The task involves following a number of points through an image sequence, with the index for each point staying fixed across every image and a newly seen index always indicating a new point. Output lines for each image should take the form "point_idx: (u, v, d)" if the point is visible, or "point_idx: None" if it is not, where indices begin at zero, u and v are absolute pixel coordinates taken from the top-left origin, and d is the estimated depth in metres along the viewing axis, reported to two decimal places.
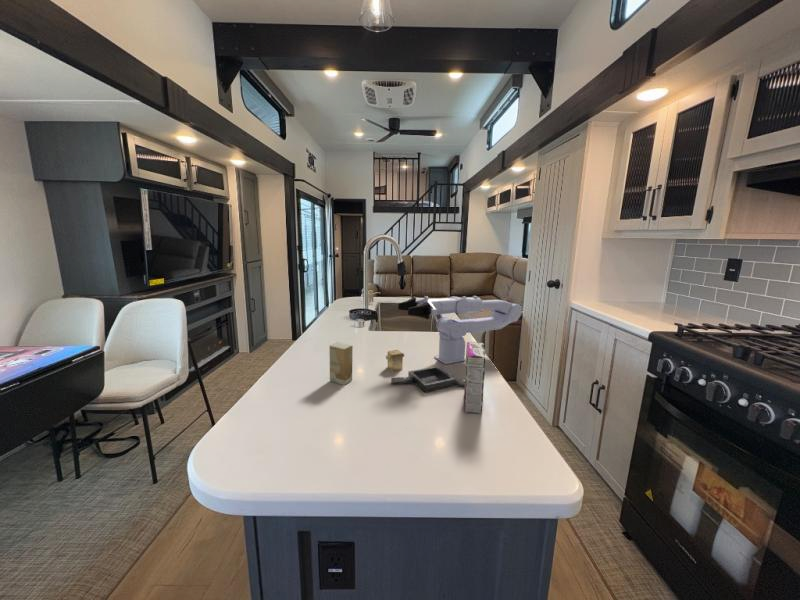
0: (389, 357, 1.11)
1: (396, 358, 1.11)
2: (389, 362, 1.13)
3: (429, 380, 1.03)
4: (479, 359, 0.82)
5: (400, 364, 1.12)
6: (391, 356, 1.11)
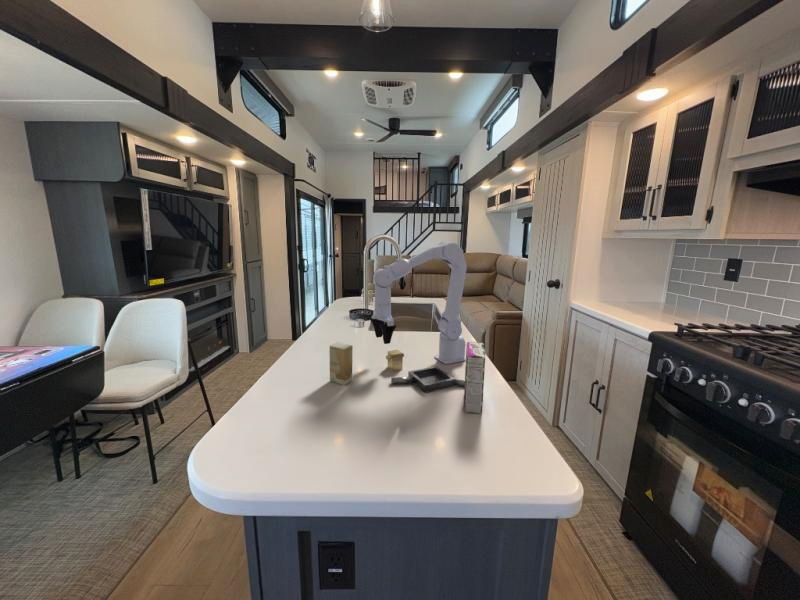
0: (389, 357, 1.11)
1: (396, 358, 1.11)
2: (389, 362, 1.13)
3: (429, 380, 1.03)
4: (479, 359, 0.82)
5: (400, 364, 1.12)
6: (391, 356, 1.11)
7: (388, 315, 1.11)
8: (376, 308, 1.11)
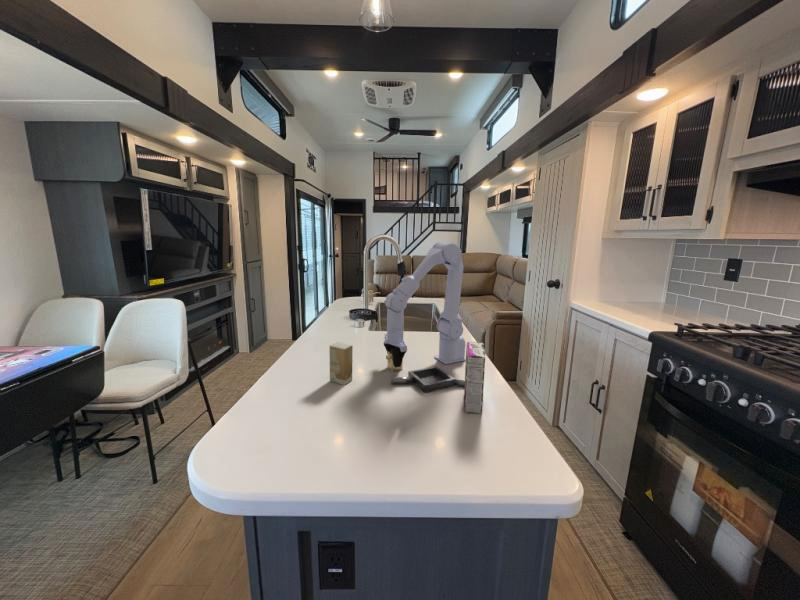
0: (389, 357, 1.11)
1: None
2: (389, 362, 1.13)
3: (429, 380, 1.03)
4: (478, 359, 0.82)
5: None
6: (391, 356, 1.11)
7: (401, 340, 1.10)
8: (389, 333, 1.09)
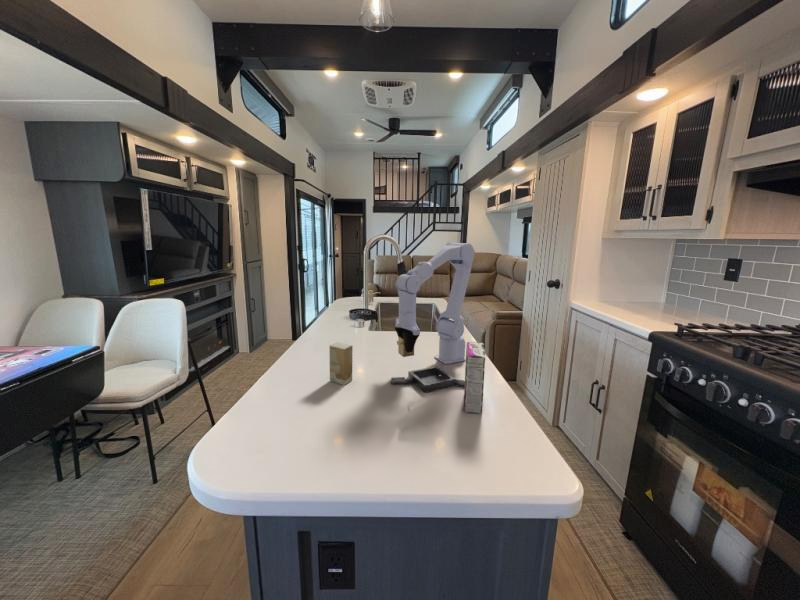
0: (400, 342, 1.06)
1: None
2: (400, 348, 1.08)
3: (429, 380, 1.03)
4: (478, 359, 0.82)
5: None
6: (402, 341, 1.06)
7: (413, 323, 1.05)
8: (400, 316, 1.04)
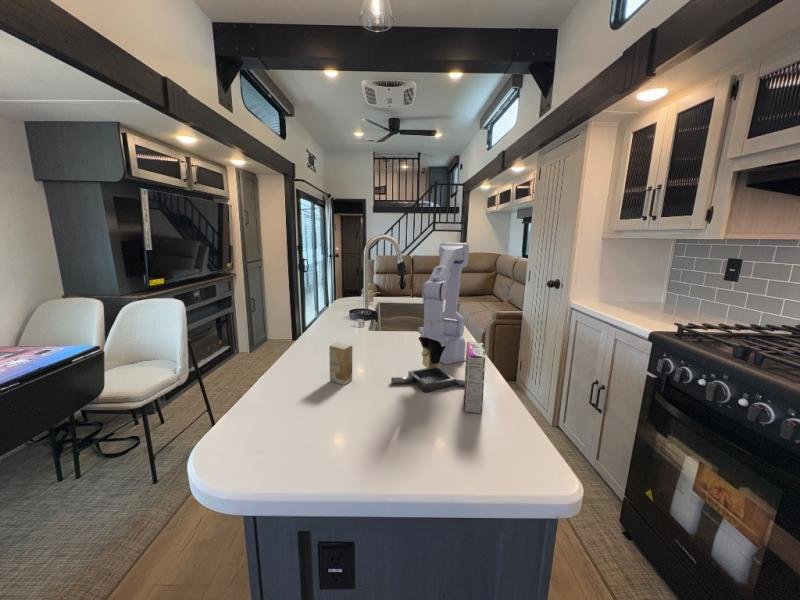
0: (426, 353, 0.99)
1: None
2: (425, 359, 1.01)
3: (429, 380, 1.03)
4: (479, 359, 0.82)
5: None
6: (428, 352, 0.99)
7: (440, 333, 0.98)
8: (426, 325, 0.97)
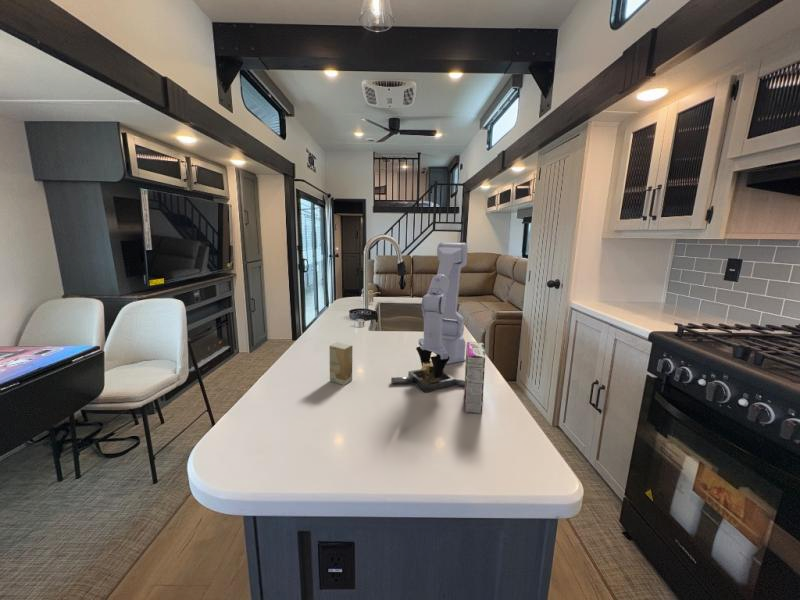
0: (425, 369, 1.01)
1: (433, 370, 1.00)
2: (424, 374, 1.02)
3: None
4: (479, 359, 0.82)
5: None
6: (427, 368, 1.00)
7: (439, 345, 0.99)
8: (426, 338, 0.98)
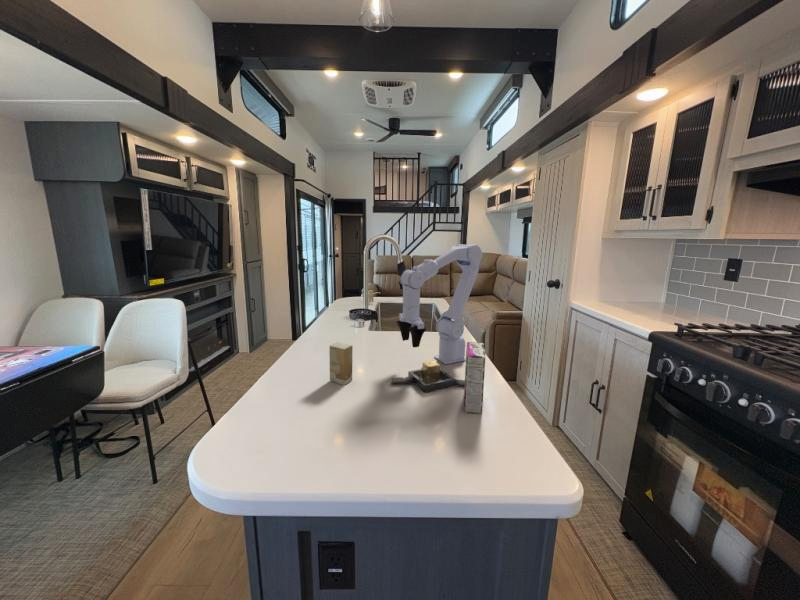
0: (425, 369, 1.01)
1: (433, 370, 1.00)
2: (424, 374, 1.02)
3: None
4: (479, 359, 0.82)
5: (437, 377, 1.01)
6: (427, 368, 1.00)
7: (417, 318, 1.08)
8: (405, 310, 1.07)
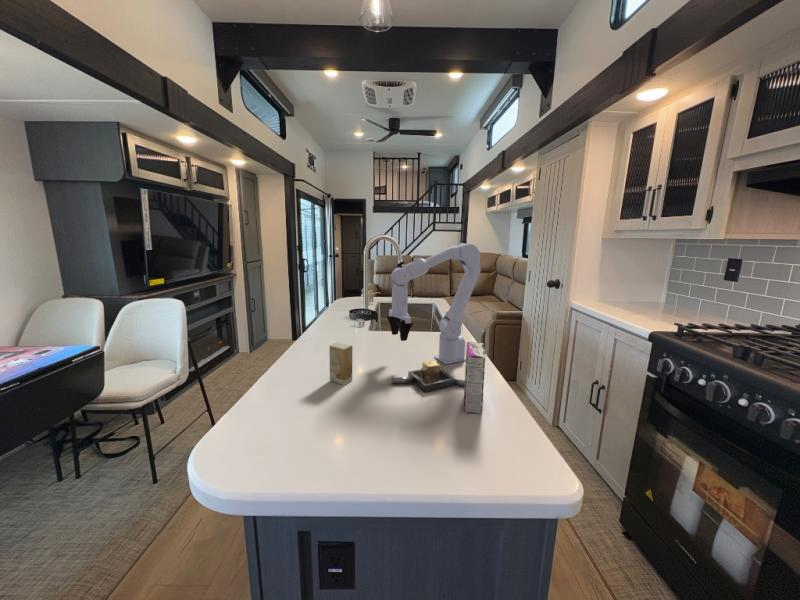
0: (425, 369, 1.01)
1: (433, 370, 1.00)
2: (424, 374, 1.02)
3: None
4: (479, 359, 0.82)
5: (437, 377, 1.01)
6: (427, 368, 1.00)
7: (405, 313, 1.14)
8: (393, 306, 1.14)
